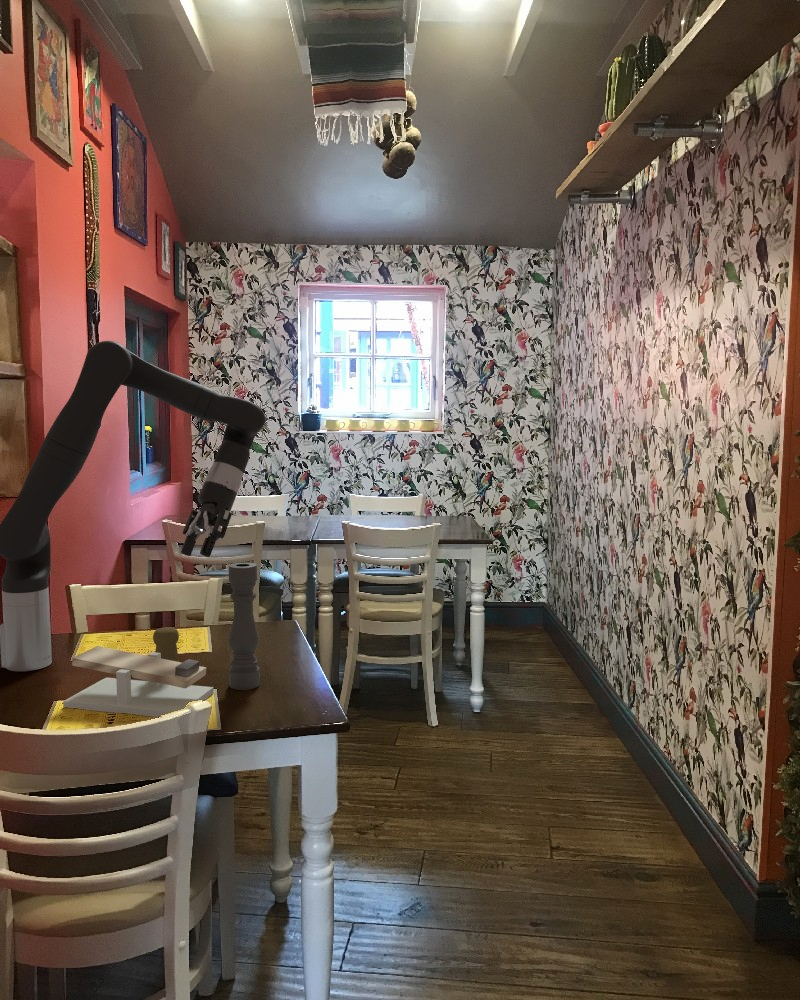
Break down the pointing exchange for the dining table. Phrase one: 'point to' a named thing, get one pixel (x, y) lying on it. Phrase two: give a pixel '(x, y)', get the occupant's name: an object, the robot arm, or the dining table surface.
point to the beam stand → (136, 695)
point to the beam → (141, 666)
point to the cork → (166, 643)
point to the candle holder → (243, 628)
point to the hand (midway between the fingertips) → (194, 555)
